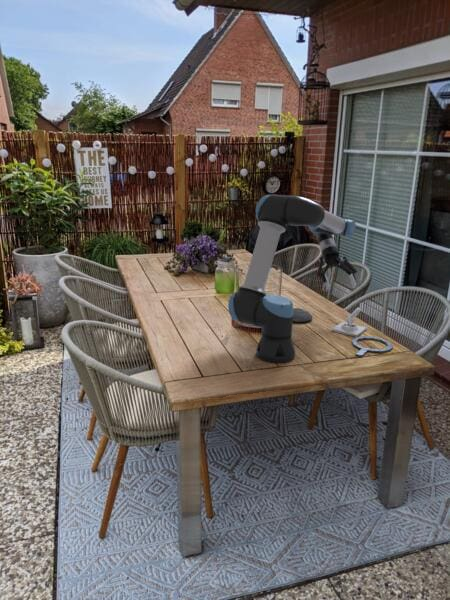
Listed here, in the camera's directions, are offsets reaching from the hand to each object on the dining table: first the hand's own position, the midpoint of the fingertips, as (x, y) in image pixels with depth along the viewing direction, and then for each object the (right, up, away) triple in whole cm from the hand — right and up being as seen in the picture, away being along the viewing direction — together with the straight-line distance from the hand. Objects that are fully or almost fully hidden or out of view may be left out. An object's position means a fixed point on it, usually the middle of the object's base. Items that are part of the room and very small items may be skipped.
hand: (341, 287), depth 208 cm
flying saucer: (-19, -15, +11) cm, 27 cm away
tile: (+2, -20, -4) cm, 20 cm away
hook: (+3, -19, -4) cm, 20 cm away
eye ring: (+5, -26, -23) cm, 35 cm away
